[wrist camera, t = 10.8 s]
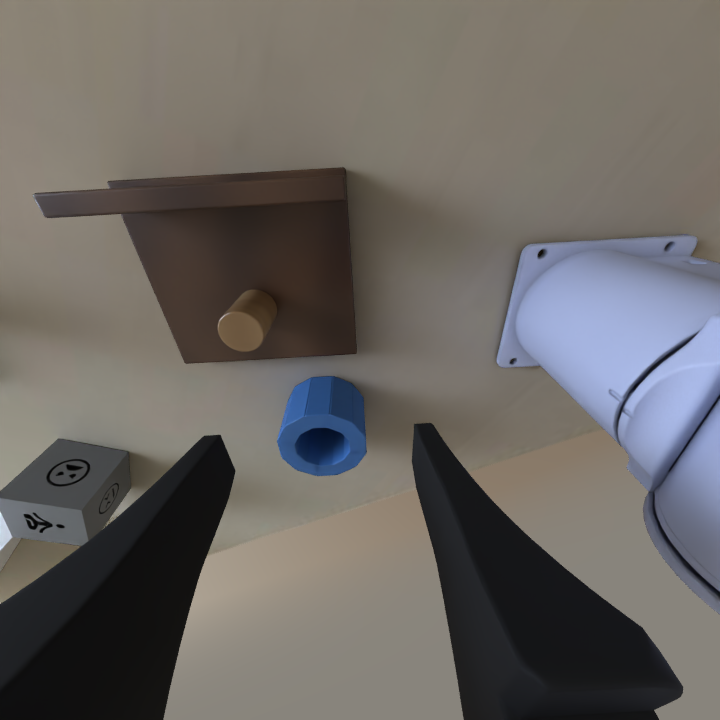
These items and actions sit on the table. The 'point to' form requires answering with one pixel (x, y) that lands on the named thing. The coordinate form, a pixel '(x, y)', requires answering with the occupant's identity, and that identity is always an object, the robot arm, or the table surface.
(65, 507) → the dice cube
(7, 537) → the block
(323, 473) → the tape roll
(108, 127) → the table surface
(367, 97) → the table surface
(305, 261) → the holder
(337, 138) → the table surface
